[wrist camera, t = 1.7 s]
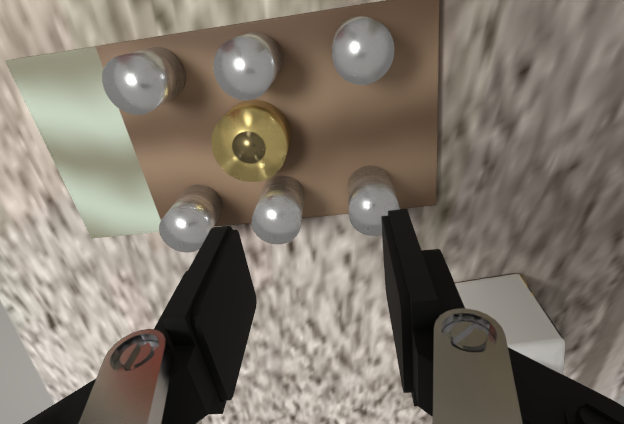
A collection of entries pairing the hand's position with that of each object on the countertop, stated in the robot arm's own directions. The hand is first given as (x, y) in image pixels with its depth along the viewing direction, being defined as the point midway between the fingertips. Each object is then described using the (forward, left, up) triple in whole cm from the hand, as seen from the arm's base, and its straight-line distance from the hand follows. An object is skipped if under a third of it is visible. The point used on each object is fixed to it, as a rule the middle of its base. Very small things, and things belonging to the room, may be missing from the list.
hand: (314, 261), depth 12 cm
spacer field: (0, -3, -15) cm, 15 cm away
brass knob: (0, -5, -15) cm, 15 cm away
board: (0, -7, -15) cm, 17 cm away
